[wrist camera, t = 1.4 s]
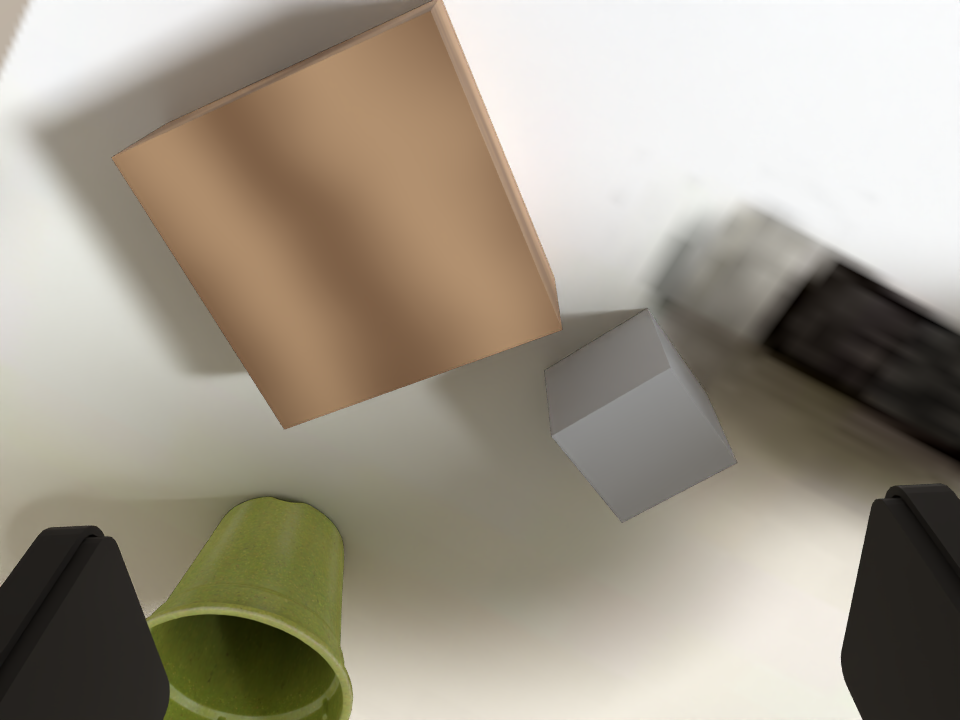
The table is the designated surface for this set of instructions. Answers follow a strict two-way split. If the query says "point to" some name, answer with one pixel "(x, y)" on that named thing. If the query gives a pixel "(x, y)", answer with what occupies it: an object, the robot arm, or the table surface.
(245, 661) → the plant pot
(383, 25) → the walnut block
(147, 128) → the table surface
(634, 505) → the grey cube
